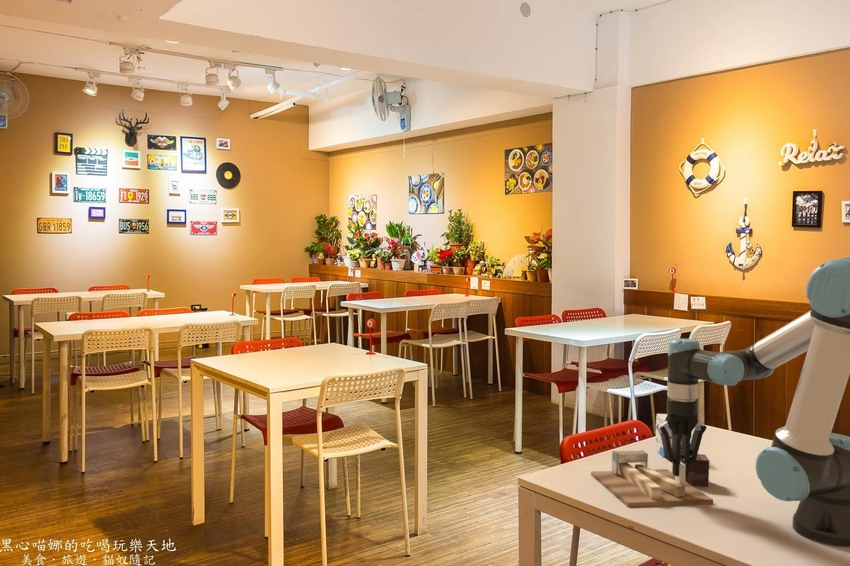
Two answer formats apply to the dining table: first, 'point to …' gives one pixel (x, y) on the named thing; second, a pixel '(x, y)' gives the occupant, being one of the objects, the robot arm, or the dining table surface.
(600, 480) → the walnut board
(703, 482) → the box
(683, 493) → the bar
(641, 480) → the fixed tong arm
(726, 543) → the dining table surface
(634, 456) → the lock collar
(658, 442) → the ink box
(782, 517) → the dining table surface
